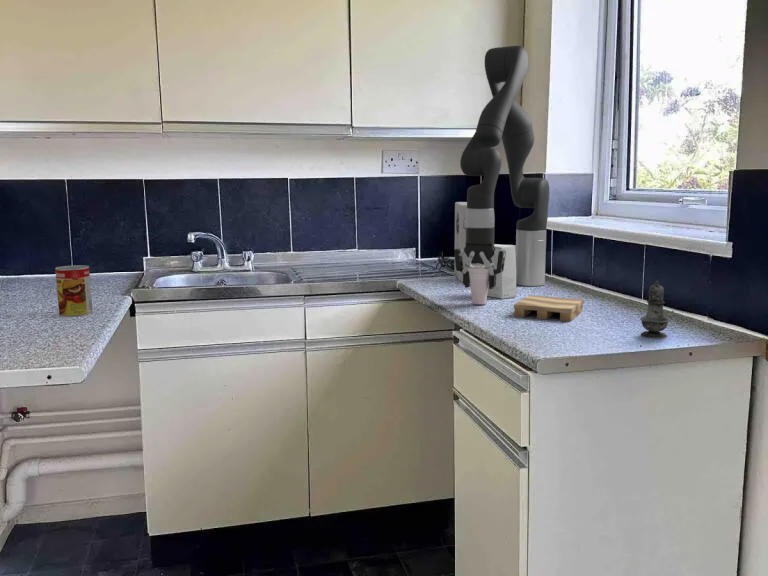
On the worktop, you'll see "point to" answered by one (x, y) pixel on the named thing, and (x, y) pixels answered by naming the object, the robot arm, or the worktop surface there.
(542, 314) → the tan wavy panel
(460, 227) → the cereal box
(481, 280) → the smoothie
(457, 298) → the worktop surface
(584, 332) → the worktop surface
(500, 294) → the skincare box
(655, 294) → the salt shaker
